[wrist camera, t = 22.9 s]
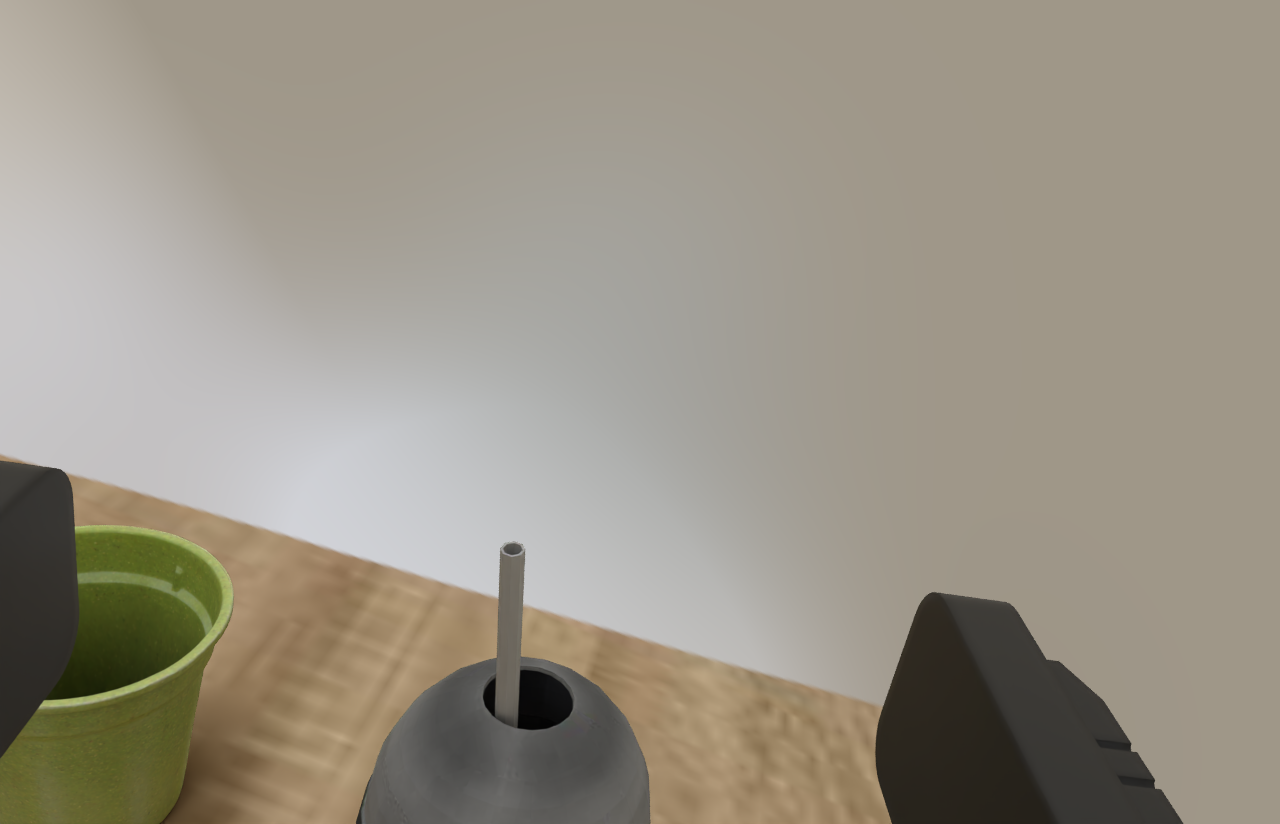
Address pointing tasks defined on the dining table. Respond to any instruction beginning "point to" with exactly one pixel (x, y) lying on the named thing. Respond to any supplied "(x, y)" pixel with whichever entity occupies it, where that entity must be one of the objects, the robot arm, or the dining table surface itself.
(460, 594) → the dining table surface
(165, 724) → the plant pot
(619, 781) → the beverage cup
